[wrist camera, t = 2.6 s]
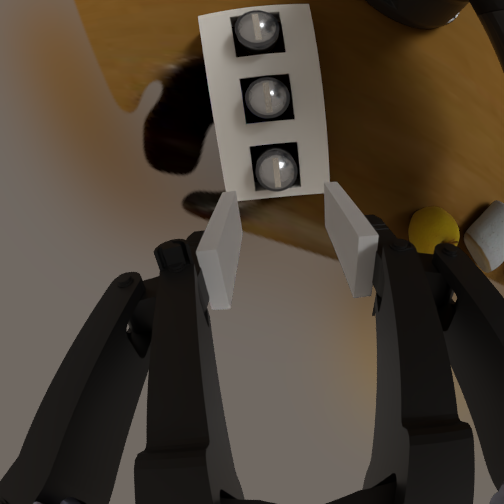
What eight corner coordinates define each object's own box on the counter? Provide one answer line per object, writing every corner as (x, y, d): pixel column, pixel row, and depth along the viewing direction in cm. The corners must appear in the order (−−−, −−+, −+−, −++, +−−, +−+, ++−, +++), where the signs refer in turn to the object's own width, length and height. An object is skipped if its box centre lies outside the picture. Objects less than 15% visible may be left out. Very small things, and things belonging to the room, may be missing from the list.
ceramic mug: (454, 227, 30) (484, 256, 24) (488, 191, 27) (521, 214, 21) (473, 268, 34) (497, 297, 27) (503, 237, 30) (529, 262, 24)
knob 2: (254, 147, 25) (252, 154, 22) (291, 143, 25) (296, 150, 22) (259, 181, 27) (258, 194, 24) (294, 178, 27) (299, 190, 23)
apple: (443, 200, 29) (478, 227, 22) (429, 243, 32) (457, 276, 25) (405, 191, 29) (438, 218, 22) (392, 238, 32) (418, 273, 25)
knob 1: (236, 24, 19) (231, 12, 15) (274, 20, 19) (276, 7, 15) (241, 56, 21) (237, 48, 17) (280, 52, 20) (282, 43, 17)
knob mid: (245, 83, 22) (242, 79, 19) (284, 79, 22) (287, 75, 18) (250, 118, 24) (248, 120, 20) (288, 114, 24) (292, 116, 20)
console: (206, 26, 21) (197, 16, 17) (303, 15, 20) (308, 3, 16) (232, 190, 30) (227, 202, 27) (322, 181, 29) (330, 192, 26)
